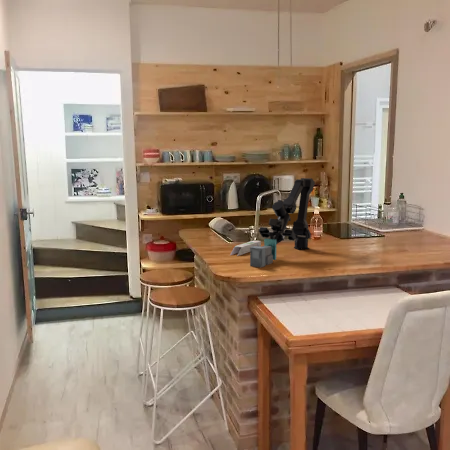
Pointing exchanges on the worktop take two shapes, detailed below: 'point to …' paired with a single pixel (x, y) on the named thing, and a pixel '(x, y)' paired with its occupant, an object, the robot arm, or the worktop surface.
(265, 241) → the teal green slab
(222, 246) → the worktop surface
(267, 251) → the sleeve
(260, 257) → the socket
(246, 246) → the box
